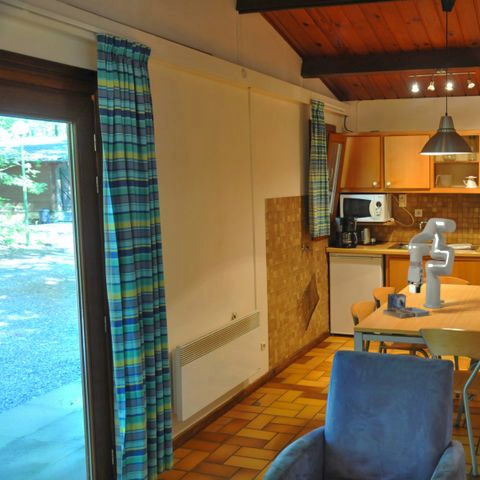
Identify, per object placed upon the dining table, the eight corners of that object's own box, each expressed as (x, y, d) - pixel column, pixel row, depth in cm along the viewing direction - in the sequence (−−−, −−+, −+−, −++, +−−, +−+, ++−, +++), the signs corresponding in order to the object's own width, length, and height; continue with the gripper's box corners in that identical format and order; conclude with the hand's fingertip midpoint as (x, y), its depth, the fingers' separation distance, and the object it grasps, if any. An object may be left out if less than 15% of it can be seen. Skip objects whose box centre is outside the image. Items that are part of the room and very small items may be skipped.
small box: (390, 311, 463) (391, 295, 462) (386, 309, 469) (387, 293, 468) (405, 310, 465) (406, 295, 464) (401, 308, 471) (402, 293, 470)
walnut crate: (395, 312, 459) (395, 308, 458) (413, 317, 445) (414, 312, 445) (383, 314, 453) (383, 310, 452) (401, 319, 439) (401, 314, 439)
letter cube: (414, 291, 455) (415, 283, 455) (420, 292, 451) (420, 284, 451) (409, 292, 453) (409, 284, 452) (415, 293, 449) (415, 285, 448)
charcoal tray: (411, 311, 463) (411, 307, 462) (429, 315, 450) (429, 311, 450) (399, 313, 457) (399, 308, 457) (416, 317, 444) (416, 312, 444)
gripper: (430, 265, 445) (429, 293, 447) (410, 262, 459) (409, 289, 461) (421, 266, 441) (420, 295, 443) (402, 263, 455) (401, 290, 457)
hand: (414, 292), depth 452 cm, fingers closed on letter cube, 4 cm apart
